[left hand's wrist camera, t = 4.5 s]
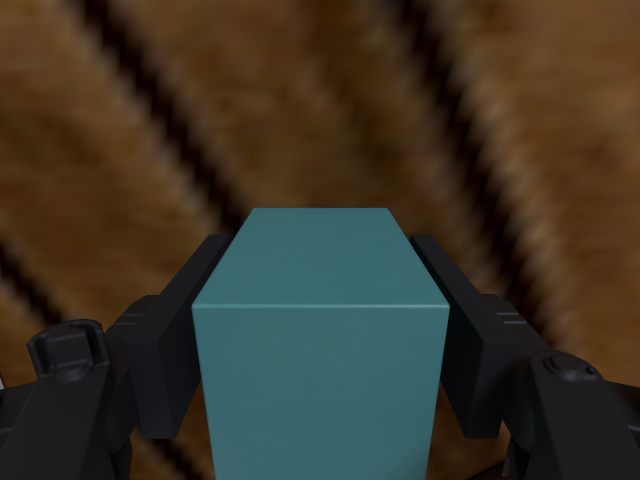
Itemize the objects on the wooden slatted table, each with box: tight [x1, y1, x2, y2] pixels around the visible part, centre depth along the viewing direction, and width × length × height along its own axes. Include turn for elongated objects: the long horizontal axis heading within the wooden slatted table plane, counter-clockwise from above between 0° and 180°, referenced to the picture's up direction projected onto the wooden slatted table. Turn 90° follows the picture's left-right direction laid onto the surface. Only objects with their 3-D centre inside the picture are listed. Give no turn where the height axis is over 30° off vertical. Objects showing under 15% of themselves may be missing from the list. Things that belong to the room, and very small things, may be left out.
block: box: [192, 208, 450, 480], centre depth 11 cm, size 5×5×7 cm
